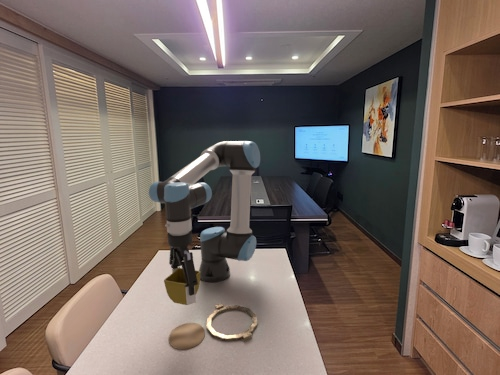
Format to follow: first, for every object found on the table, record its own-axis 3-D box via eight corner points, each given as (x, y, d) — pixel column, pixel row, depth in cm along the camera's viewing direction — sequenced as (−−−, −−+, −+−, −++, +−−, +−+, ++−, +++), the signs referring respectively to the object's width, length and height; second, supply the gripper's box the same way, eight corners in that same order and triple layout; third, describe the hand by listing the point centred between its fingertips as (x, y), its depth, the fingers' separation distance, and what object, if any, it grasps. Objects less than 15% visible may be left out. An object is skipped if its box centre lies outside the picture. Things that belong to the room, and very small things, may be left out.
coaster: (164, 333, 98) (164, 331, 98) (196, 320, 105) (196, 318, 105) (176, 355, 88) (175, 353, 88) (210, 339, 95) (210, 337, 95)
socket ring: (197, 316, 106) (197, 313, 106) (238, 300, 116) (237, 297, 116) (224, 352, 89) (224, 347, 89) (269, 329, 99) (269, 325, 99)
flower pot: (188, 310, 88) (187, 284, 87) (165, 305, 91) (163, 280, 89) (202, 295, 96) (201, 271, 95) (180, 291, 99) (178, 267, 98)
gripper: (156, 224, 97) (161, 282, 101) (181, 246, 77) (186, 317, 81) (177, 220, 101) (181, 276, 105) (206, 240, 81) (210, 308, 86)
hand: (184, 294), depth 93 cm, fingers closed on flower pot, 12 cm apart
